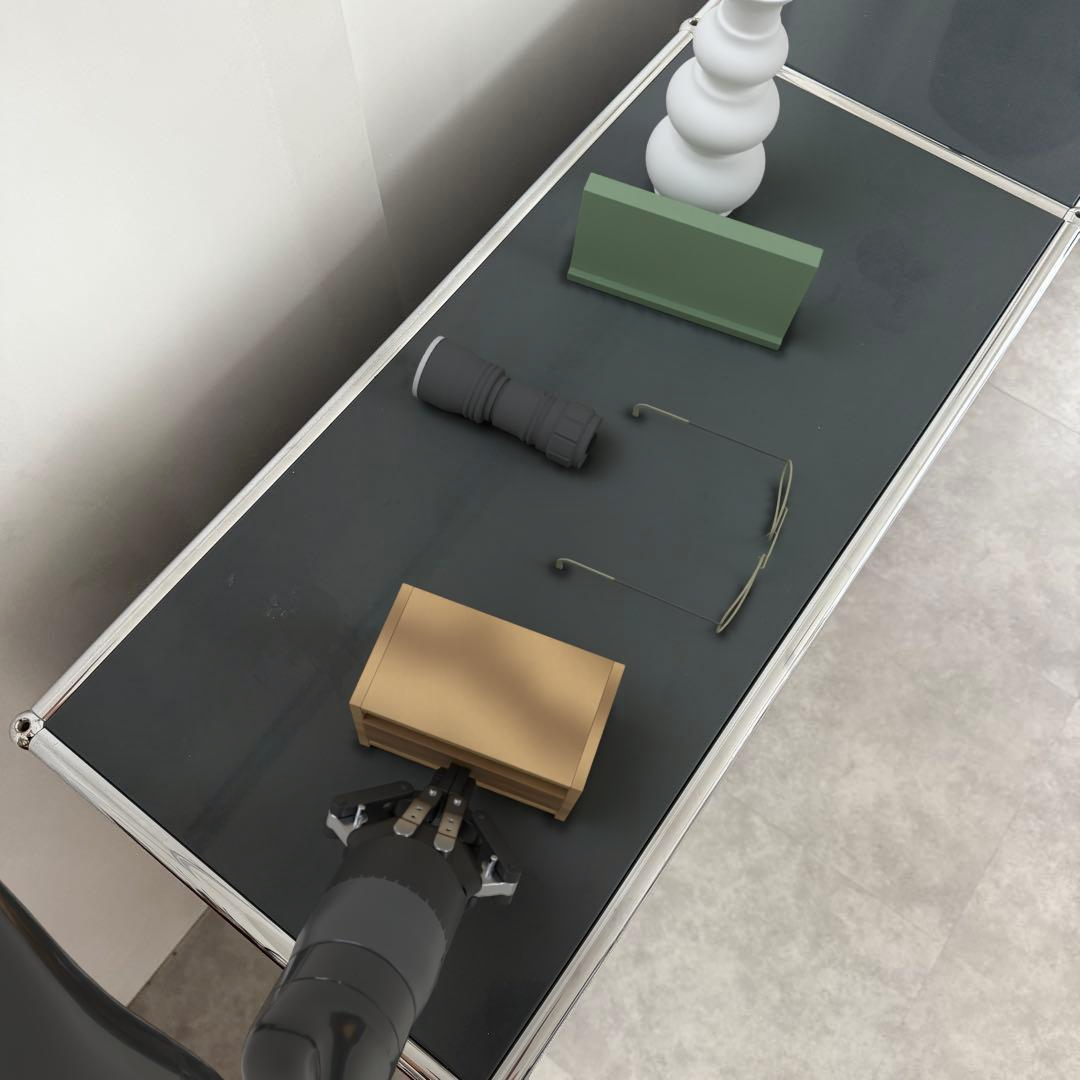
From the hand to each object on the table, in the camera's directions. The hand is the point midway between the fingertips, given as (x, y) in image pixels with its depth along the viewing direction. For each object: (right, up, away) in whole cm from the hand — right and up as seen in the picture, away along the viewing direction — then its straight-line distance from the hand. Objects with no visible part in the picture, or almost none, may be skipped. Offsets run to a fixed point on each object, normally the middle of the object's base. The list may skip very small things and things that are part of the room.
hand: (457, 776), depth 75 cm
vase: (+20, +49, +30) cm, 61 cm away
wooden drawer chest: (+1, +2, +7) cm, 8 cm away
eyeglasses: (+17, +17, +15) cm, 29 cm away
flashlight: (+3, +26, +18) cm, 32 cm away
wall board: (+18, +38, +24) cm, 48 cm away
